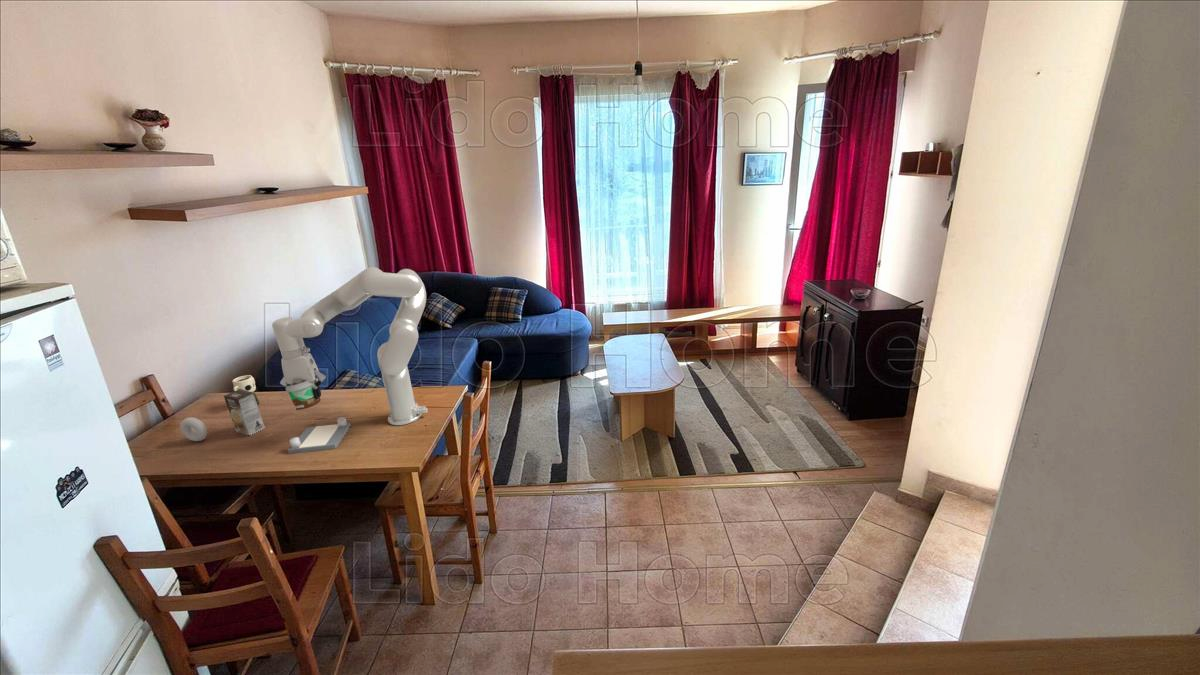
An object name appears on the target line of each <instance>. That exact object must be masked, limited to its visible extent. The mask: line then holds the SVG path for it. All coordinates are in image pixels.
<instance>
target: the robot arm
mask: <svg viewBox="0 0 1200 675" xmlns="http://www.w3.org/2000/svg"><path fill="white" fill-rule="evenodd" d="M372 296H376V297H385V298H386V297H387V298H389V297H390V298H401V301H400V304H399V306H398V308H397V311H396V314H395V315H394V317H393V319H392V322H391V324H390V326H389V331H388V332H389V336H388V340H387V341H386V342H384V343H382V344H381V345H380V346H379V347H378V349H377V353H376V354H377V355H376V356H377V362H378V367H379V368H380V374H381V378H382V382H383V385H384V389H385V394H386V395H385V396H386V399H387V404H388V407H389V411H390V415H388V416H387V422H388V424H390V425H392V426H403V425H408V424H411V423H414V422H415V421H417V420H418V419H420V418H421V416H422V415H423V414H424V413H425V414H426V413H428V412H429V411H428V407H427V406H426V405H421V406H420V405H419V404H418V403H419V402H415V395H414V392H413V386H412V382H411V377H410V373H409V372H410V371H409V367H408V364H409V362H410V360H411V357H412V355H413V354H414V351H415V350H416V347H417V344H418V341H419V332H418V325H419V324H420V320H421V318H422V315H423V313H424V311H425V307H426V303H427V291H426V287H425V284H424V282H423V281H422V279H421V277H420V276H419V275H418V274H417V272H416V271H414V270H412V269H410V268H403V269H400V270H399V271H398V272H397V273H394V272H393V273H392V272H384V271H383V270H381V269H379V267H375V266H369V267H367V268H365V269H364V270H362V271H360V272H359V273H358V274H356V275H355V276H354V277H352V278H351V279H350V280H348V281H347V282H345V283H344V284H343V285H341V286H340V287H339V288H337V289H335V290H333V291H332V292H331V293H330V294H328V295H326V296H325V297H323V298H322V299H320V300H318V301H317V302H315V303H314V304H313V305H312V306H310V307H309V308H308V309H307V310H305V311H304V312H303V313H302V315H301V316H300V318H297V319H296V318H295V317H291V316H290V317H283V318H279V319H276V320H274V321H273V322H272V325H271V326H272V327H271V328H272V330H273V333H274V336H275V339H276V342H277V345H278V348H279V351H280V353H281V357H282V358H281V359H280V360H281V369H282V373H283V377H282V378H281V380H280V382H279V384H280V385H282V386H284V387H286V386H291V385H293V384H300V383H303V382H306V381H308V382H312V384H313V385H312V387H313V388H314V389H313V393H314V396H315V399H318V398H319V397H320V398H321V396H322V391H321V389H320V385H321V384H322V383H323V381H324V380H325V379H326V377H327V376H326V375H325V374H324V373H321V372H320V371H319V368H318V365H317V364H316V362H315V359H314V358H313V355H312V354H311V353H310V352H311V348H310V347H307V346H306V345H305V342H304V339H307V338H308V339H309V338H315V337H318V336H319V335H321V334H322V332H323V329H324V326H325V324H326V323H328V322H329V321H331V319H334V317H336V316H338V315H339V314H341V313H343V312H346V311H351V310H354V309H356V308H357V307H359V306H360V305H361V304H362V303H364V302H365V301H366V300H367V299H369V298H370V297H372ZM315 377H316V378H318V381H317V379H316V378H315ZM315 380H316V381H317V382H316V383H314V381H315Z"/></svg>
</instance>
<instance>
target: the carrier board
mask: <svg viewBox="0 0 1200 675" xmlns="http://www.w3.org/2000/svg"><path fill="white" fill-rule="evenodd" d="M336 422H337V423H335V424H328V425H317V426H309V427H306V428H305V430H303V432H302V433H301V435H299V436H294V437H292V438H289V444H290V447H289V448H287V452H288V454H289V455H290V454H300V453H308V452H317V451H325V450H333V449H336V448H338V446H339V444H340V443H341V442H342V440H343V439H344V437H345V436H344V435H346V434H347V433H348V431H349V430H350V428H351V427H352V424H351V422H347V419H346V417H345V416H341V417H338V418H337V419H336ZM350 426H351V427H350ZM349 427H350V428H349ZM348 429H349V430H348ZM346 432H347V433H346ZM342 438H343V439H342Z"/></svg>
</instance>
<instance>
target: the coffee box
mask: <svg viewBox="0 0 1200 675" xmlns="http://www.w3.org/2000/svg"><path fill="white" fill-rule="evenodd" d="M253 392H254V391H253ZM253 392H249V391H246V390H242V389H239V390H236V391H234V390H233V391H232V392H229V393H227V394H225V395H223V398H224V402H225V404H226V406H227V410H228V412H229V415H230V419H231V421H232V423H233V426H234V429H235V432H237V433H239V434H241V435H245V434H246V436H248V435H251V436H252V434H253V435H255V434H257V433H258V431H259V432H261V431H263V430H264V429H263V428H265V429H266V427H265V424H264V422H263V421H264V420H263V417H262V415H261V412H260V409H259V406H258V402H256V399H255V396H254V393H255V392H254V393H253ZM262 429H263V430H262ZM260 430H261V431H260ZM256 432H257V433H256ZM254 433H255V434H254Z"/></svg>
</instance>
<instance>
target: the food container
mask: <svg viewBox="0 0 1200 675" xmlns="http://www.w3.org/2000/svg"><path fill="white" fill-rule="evenodd" d="M315 378H316V377H315ZM316 379H317V381H318V380H319V377H317V378H316ZM317 381H316V380H315V381H314V383H316V382H317ZM312 385H313V384H312V382H308V381H306V382H303V383H300V384H293V385H291V386H285V392H286V393H288V395H289V397H290V399H291V402H292V404H293V406H294V408H295V410H296V411H301V410H306V409H309V408H312V407H314V406H316V405H318V404H320V402H321V396H320V397H319V398H318V399H315V396H314V393H313V389H314V388H313V387H312Z"/></svg>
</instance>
